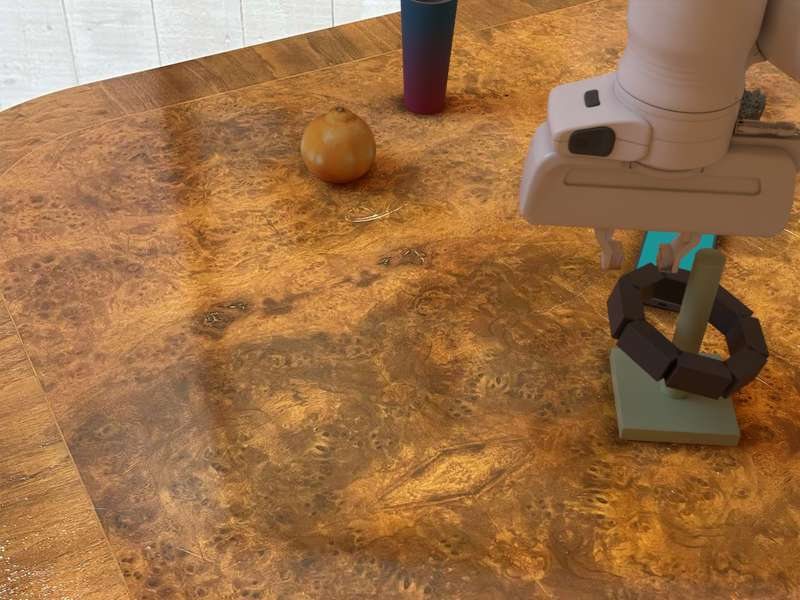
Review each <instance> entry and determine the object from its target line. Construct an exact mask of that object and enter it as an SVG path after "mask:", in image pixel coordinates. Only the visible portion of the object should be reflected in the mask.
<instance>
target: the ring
mask: <svg viewBox="0 0 800 600" xmlns="http://www.w3.org/2000/svg"><path fill="white" fill-rule="evenodd" d="M690 272H691V271H689V270H685V269H682V268H678V272H677V273H669V272H658V266H657V264H656V266H655V265H654V264H653V263H652V262H650V263H648V264H646V265H644V266H642V267H639V268H637V269H635V270H634V269H633V270H631V271H629V272H627V273H624V274H623V275H620V276H619V278H618V280H617V282H616V284H615V285H614V286H613V289H612V291H610V294H609V296H608V298H607V300H606V309H607V316H608V324H609V330H610V338H611V339H613V340H617V342H616V343H615V345H616V347H617V348H620V349H621V350H622V351H623V352H624V353H625V354H626V355H628V356H629V357H630V358H631V359H632V360H633V361H634V362H635V363H636V364H638V365H639V366H640V367H641V368H642V369H643V370H644V371H645V372H646V373H648V374H649V375H650V376H651V377H652V378H653V379H654V380H655V381H656V382H658V381H660V380H661V379H663V378H664V381H665V386H666V387H669V388H673V389H676V390H680V391H684V392H688V393H692V394H696V395H700V396H704V397H708V398H712V399H716V400H718V399H719V398H720V396H722V397H723V398H724V399H727V398H728V397H730V396H731V397H732V396H733V395H734V394H736V393H737V392H739V391H740V390H742V389H743V388H745V387H746V386H747V385H749V384H751V383H752V382H754V381H755V379H756V378H757V377H758V375H759V374H760V373H761V371H762V370H763V368H764V367H765V366H766V364H767V363H768V362H769V359H768V358H769V357H770V356H771V354H770V351H769V348H768V345H767V342H766V338H765V335H764V331H763V329H762V325H761V322H760V319H759V318H758V317H755V316H753V315H754V311H753V310H752V309H750V308H749V307H748V306H747V305H746V304H745V303H743V302H742V301H741V300H740V299H738V298H737V297H736V296H735V295H734V294H732V292H730V291H729V290H727V289H726V288H725V287H724V286H722V285H721V283H719V286H718V290H717V293H716V296H715V300H714V303H713V307H712V310H711V314H710V317H709V321H708V324H710V325H711V326H712V327H713V328H714V329H716V330H717V331H718V332H719V333H720V334H722V336H723V337H724V338H725V342H726V346H727V350H728V354H729V357H727V358H726V359H724V360H722V361H721V360H717V359H713V358H709V357H706V356H702V355H698V354H694V353H690V352H686V351H683V350H680V349H679V348H678V347H676V346H675V345H674V344H673V343H672V340H670V339H668V337H666V335H664V334H663V333H662V332H661V331H660V330H658V329H657V328H656V327H655V326H654V325H652V323H650V322H649V321H648V320H647V319H646V314H645V312H646V311H645V307H644V304H645V303H644V302H646V301H648V300H650V299H652V298H655V299H659V300H663V301H666V302H670V303H674V304H678V305H681V306H682V302H683V298H684V294H685V291H686V287H687V283H688V279H689V276H690Z"/></svg>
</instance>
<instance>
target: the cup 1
mask: <svg viewBox="0 0 800 600" xmlns="http://www.w3.org/2000/svg"><path fill="white" fill-rule="evenodd" d="M399 2H400V26H401V27H400V28H401V53H402V55H401V57H402V79H403V80H402V81H403V82H402V83H403V104H404V107H405V108H406V109H407V110H408V111H409V112H411V113H414V114H417V115H433V114H436V113H439V112H441V111H442V110H443V109H444V108H445V103H446V96H447V87H448V81H449V74H450V73H449V72H450V65H451V58H452V49H453V42H454V34H455V25H456V18H457V10H458V4H459V3H458V2H459V0H400V1H399Z"/></svg>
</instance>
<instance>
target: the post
mask: <svg viewBox="0 0 800 600" xmlns="http://www.w3.org/2000/svg"><path fill="white" fill-rule="evenodd" d="M726 262H727V258H726V255H725V254H724V253H723V252H721V251H720V250H719V249H713V248H701V249H699V250H698V251H697V252H696V253H695V257H694V261H693V264H692V268H691V272H690V276H689V279H688V283H687V287H686V291H685V294H684V298H683V302H682V306H681V309H680V312H679V313H678V318H677V321H676V325H675V328H674V329H675V330H674V331H673V332H674V333H673V336H672V340H671V342H672V343H673V344H674V345H675V346H676V347H678V348H679V349H680V350H683V351H686V352H690V353H694V354H698V355H702V356H706V357H709V358H713V359H717V360H721V361H723V358H722V354H721V353H712V352H701V349H702V348H701V347H702V345H703V340H704V337H705V335H706V330H707V327H708V324H709V322H708V321H709V317H710V314H711V310H712V307H713V303H714V300H715V296H716V293H717V290H718V286H719V284H721V283H720V282H721V279H722V277H723V272H724V269H725V265H726ZM609 366H610V373H611V382H612V389H613V394H614V395H613V396H614V404H615V413H616V420H617V429H618V434H619V440H622V441H638V442H652V443H653V442H655V443H669V444H670V443H671V444H672V443H673V444H687V445H688V444H689V445H705V446H722V447H738V444H739V441H740V439H741V431H740V426H739V422H738V419H737V415H736V414H737V413H736V410H735V406H734V402H733V399H732V395H731V396H730V397H728V398H727V399H724V398H723V397H722V396H720V398H719V399H718V400H716V399H712V398H708V397H704V396H700V395H696V394H692V393H688V392H684V391H680V390H676V389H673V388H669V387H666V386H665V381H664V378H663V379H661V380H660V381H658V382H656V381H655V380H654V379H653V378H652V377H651V376H650V375H649V374H648V373H646V372H645V371H644V370H643V369H642V368H641V367H640V366H639V365H638V364H636V363H635V362H634V361H633V360H632V359H631V358H630V357H629V356H628V355H626V354H625V353H624V352H623V351H622V350H621V349H620V348H619V347H611V350H610V354H609Z"/></svg>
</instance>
